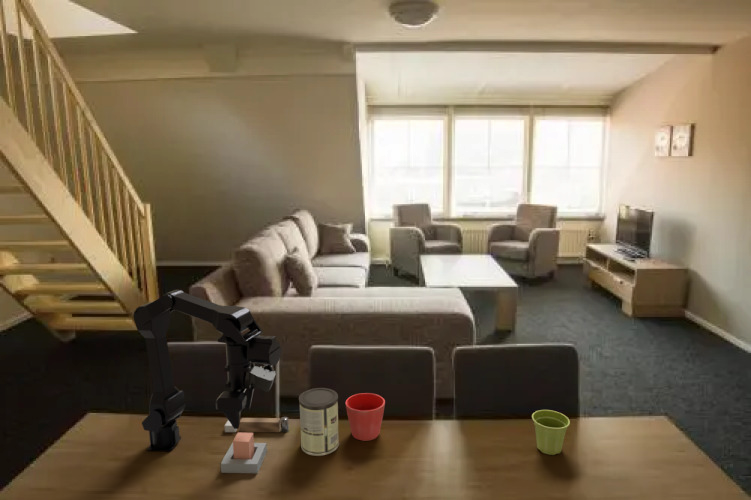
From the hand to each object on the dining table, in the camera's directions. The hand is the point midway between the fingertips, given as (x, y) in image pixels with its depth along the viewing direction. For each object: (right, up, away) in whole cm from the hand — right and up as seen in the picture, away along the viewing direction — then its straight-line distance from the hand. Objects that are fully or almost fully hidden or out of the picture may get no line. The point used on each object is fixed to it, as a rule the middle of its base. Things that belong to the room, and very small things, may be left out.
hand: (242, 418), depth 122 cm
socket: (0, -12, +2) cm, 12 cm away
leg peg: (0, -12, +2) cm, 12 cm away
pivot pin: (+7, -9, +17) cm, 20 cm away
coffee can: (+18, -11, +10) cm, 23 cm away
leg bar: (0, -9, +17) cm, 19 cm away
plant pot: (+79, -11, +8) cm, 80 cm away
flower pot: (+30, -10, +15) cm, 35 cm away
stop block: (-8, -9, +17) cm, 21 cm away
